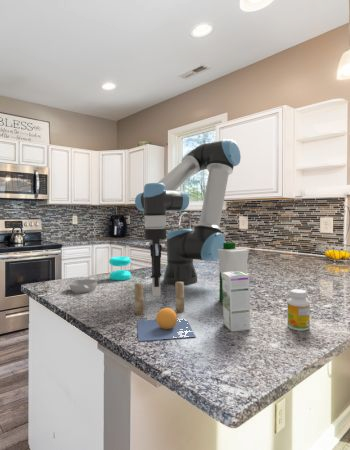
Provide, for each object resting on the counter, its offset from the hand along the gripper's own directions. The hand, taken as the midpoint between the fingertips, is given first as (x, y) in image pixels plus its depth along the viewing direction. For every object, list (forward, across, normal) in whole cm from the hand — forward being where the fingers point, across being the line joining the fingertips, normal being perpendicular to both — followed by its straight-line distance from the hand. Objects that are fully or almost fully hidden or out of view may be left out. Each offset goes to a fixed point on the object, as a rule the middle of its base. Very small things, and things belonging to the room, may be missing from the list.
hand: (156, 295), depth 109 cm
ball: (-1, +27, +1) cm, 27 cm away
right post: (+2, +13, +6) cm, 15 cm away
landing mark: (+2, +27, 0) cm, 27 cm away
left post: (+2, +13, -6) cm, 15 cm away
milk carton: (+2, +6, +26) cm, 27 cm away
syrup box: (+2, +29, +19) cm, 35 cm away
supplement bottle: (+2, +32, +35) cm, 47 cm away
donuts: (+2, -40, -14) cm, 42 cm away
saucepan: (+2, -17, -27) cm, 32 cm away
